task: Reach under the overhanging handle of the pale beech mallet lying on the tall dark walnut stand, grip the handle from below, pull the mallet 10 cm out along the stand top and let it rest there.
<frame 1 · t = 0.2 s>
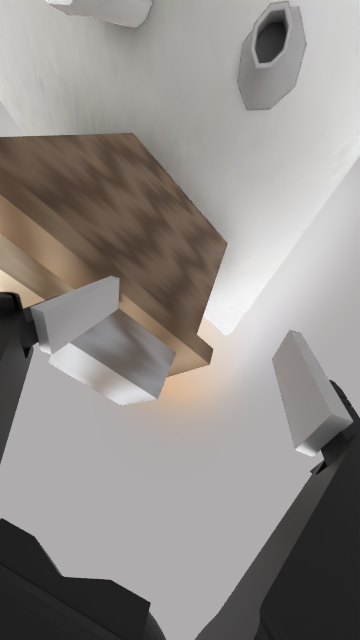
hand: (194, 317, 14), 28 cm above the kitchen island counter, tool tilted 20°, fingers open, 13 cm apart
walnut stand: (169, 215, 37), on the kitchen island counter
mallet: (19, 262, 17), point 28 cm above the kitchen island counter, touching walnut stand
flask: (269, 65, 22), on the kitchen island counter
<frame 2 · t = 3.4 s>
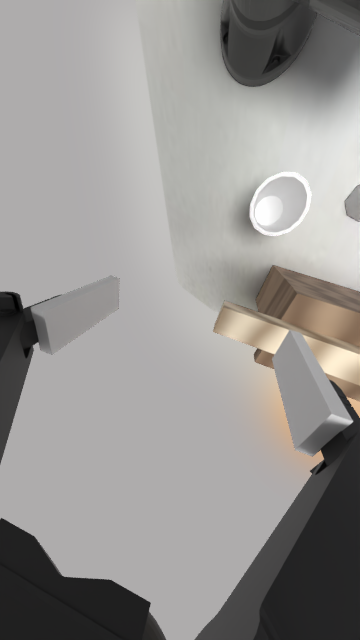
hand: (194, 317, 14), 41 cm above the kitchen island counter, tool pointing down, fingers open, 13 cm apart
walnut stand: (308, 297, 48), on the kitchen island counter
foam cup: (268, 211, 43), on the kitchen island counter
mallet: (335, 353, 25), point 28 cm above the kitchen island counter, touching walnut stand
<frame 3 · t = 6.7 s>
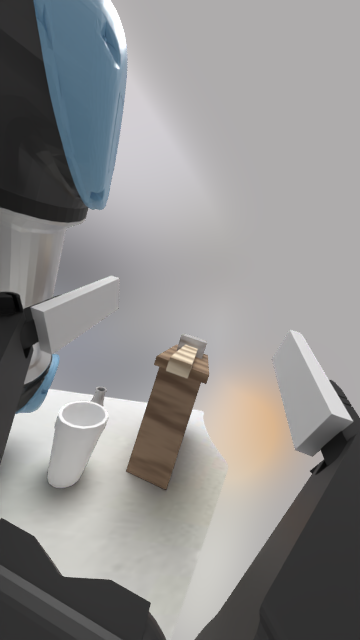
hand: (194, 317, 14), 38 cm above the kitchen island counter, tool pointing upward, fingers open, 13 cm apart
walnut stand: (158, 446, 54), on the kitchen island counter
foam cup: (65, 474, 38), on the kitchen island counter
mallet: (186, 358, 48), point 28 cm above the kitchen island counter, touching walnut stand
flask: (91, 420, 56), on the kitchen island counter
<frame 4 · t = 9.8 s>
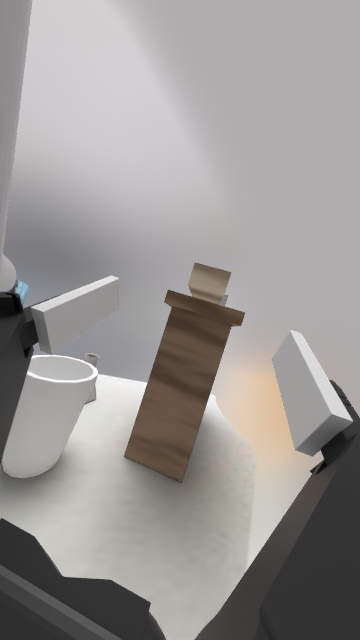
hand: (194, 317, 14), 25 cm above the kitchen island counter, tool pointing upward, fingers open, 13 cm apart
walnut stand: (167, 428, 41), on the kitchen island counter
foam cup: (32, 458, 25), on the kitchen island counter
mallet: (205, 307, 36), point 28 cm above the kitchen island counter, touching walnut stand
flask: (79, 396, 43), on the kitchen island counter
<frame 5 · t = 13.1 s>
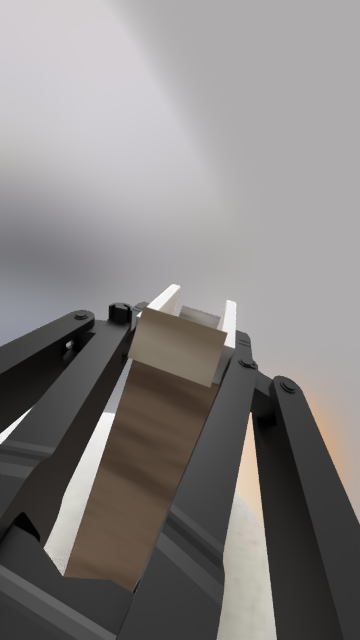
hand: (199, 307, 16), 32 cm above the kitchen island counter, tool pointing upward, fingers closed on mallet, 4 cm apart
walnut stand: (142, 503, 30), on the kitchen island counter
mallet: (192, 342, 25), point 28 cm above the kitchen island counter, touching gripper, walnut stand
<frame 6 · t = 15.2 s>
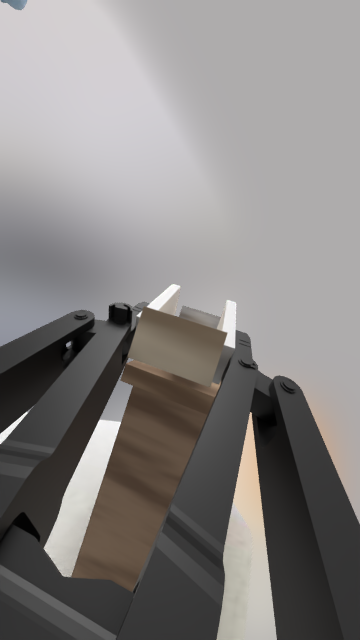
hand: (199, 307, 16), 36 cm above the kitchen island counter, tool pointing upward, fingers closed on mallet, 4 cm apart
walnut stand: (141, 506, 33), on the kitchen island counter
mallet: (192, 342, 25), point 32 cm above the kitchen island counter, touching gripper
when the fingers open (33 cm above the kitchen island counter, at t = 17.6 s): mallet stays where it is, resting on walnut stand.
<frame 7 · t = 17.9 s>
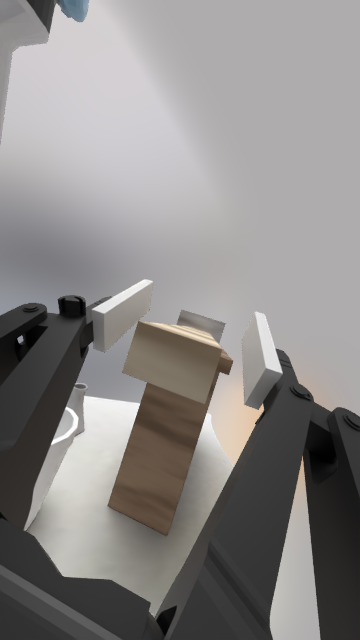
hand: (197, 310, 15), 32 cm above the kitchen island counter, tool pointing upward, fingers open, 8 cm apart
walnut stand: (157, 463, 40), on the kitchen island counter
foam cup: (7, 517, 24), on the kitchen island counter
mallet: (190, 348, 25), point 28 cm above the kitchen island counter, touching walnut stand
flask: (66, 428, 42), on the kitchen island counter
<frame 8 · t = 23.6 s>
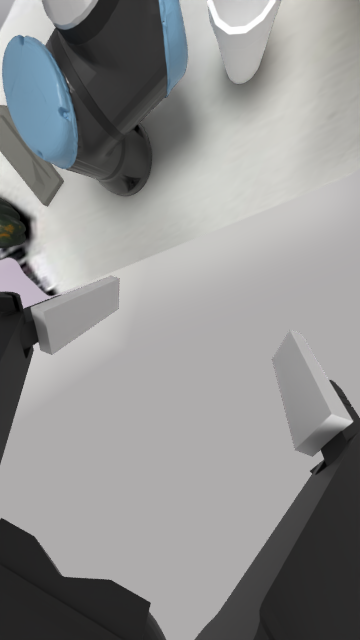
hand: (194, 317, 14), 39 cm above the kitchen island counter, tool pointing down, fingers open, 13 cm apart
foam cup: (243, 58, 33), on the kitchen island counter
soap mold: (31, 161, 51), on the kitchen island counter
squash: (14, 222, 61), on the kitchen island counter
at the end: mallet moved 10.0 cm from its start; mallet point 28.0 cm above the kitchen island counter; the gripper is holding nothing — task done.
